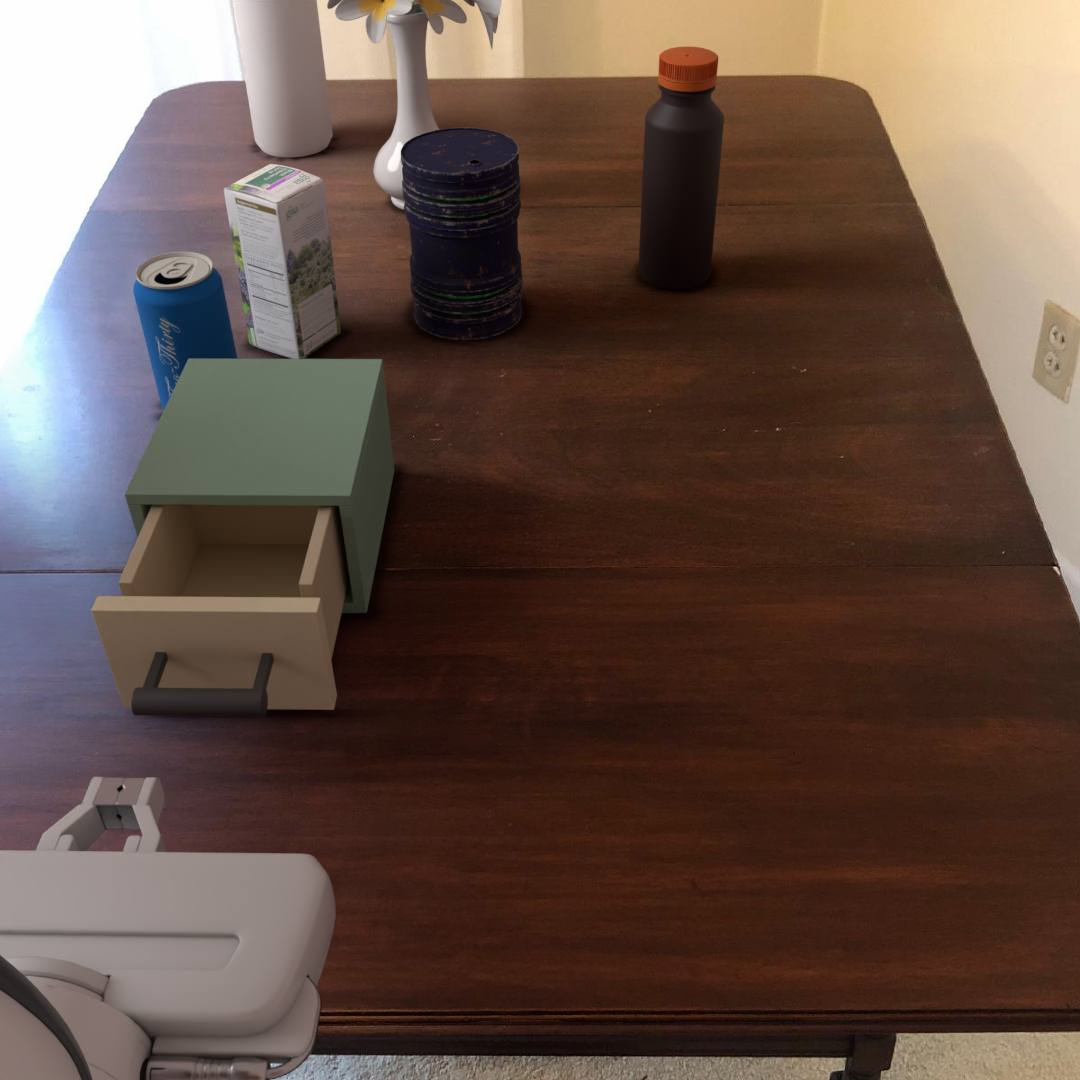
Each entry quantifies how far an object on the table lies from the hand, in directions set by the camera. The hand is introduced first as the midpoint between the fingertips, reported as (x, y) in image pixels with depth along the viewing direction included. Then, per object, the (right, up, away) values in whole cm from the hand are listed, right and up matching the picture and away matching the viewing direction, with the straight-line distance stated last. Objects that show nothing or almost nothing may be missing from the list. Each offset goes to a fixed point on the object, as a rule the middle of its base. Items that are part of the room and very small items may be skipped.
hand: (130, 785), depth 55 cm
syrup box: (-3, +28, +51) cm, 58 cm away
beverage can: (-8, +22, +43) cm, 49 cm away
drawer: (0, +4, +20) cm, 21 cm away
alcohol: (-10, +56, +85) cm, 102 cm away
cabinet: (+1, +11, +30) cm, 32 cm away
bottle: (+31, +36, +59) cm, 76 cm away
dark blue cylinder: (+12, +31, +54) cm, 64 cm away
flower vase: (+7, +47, +73) cm, 87 cm away
